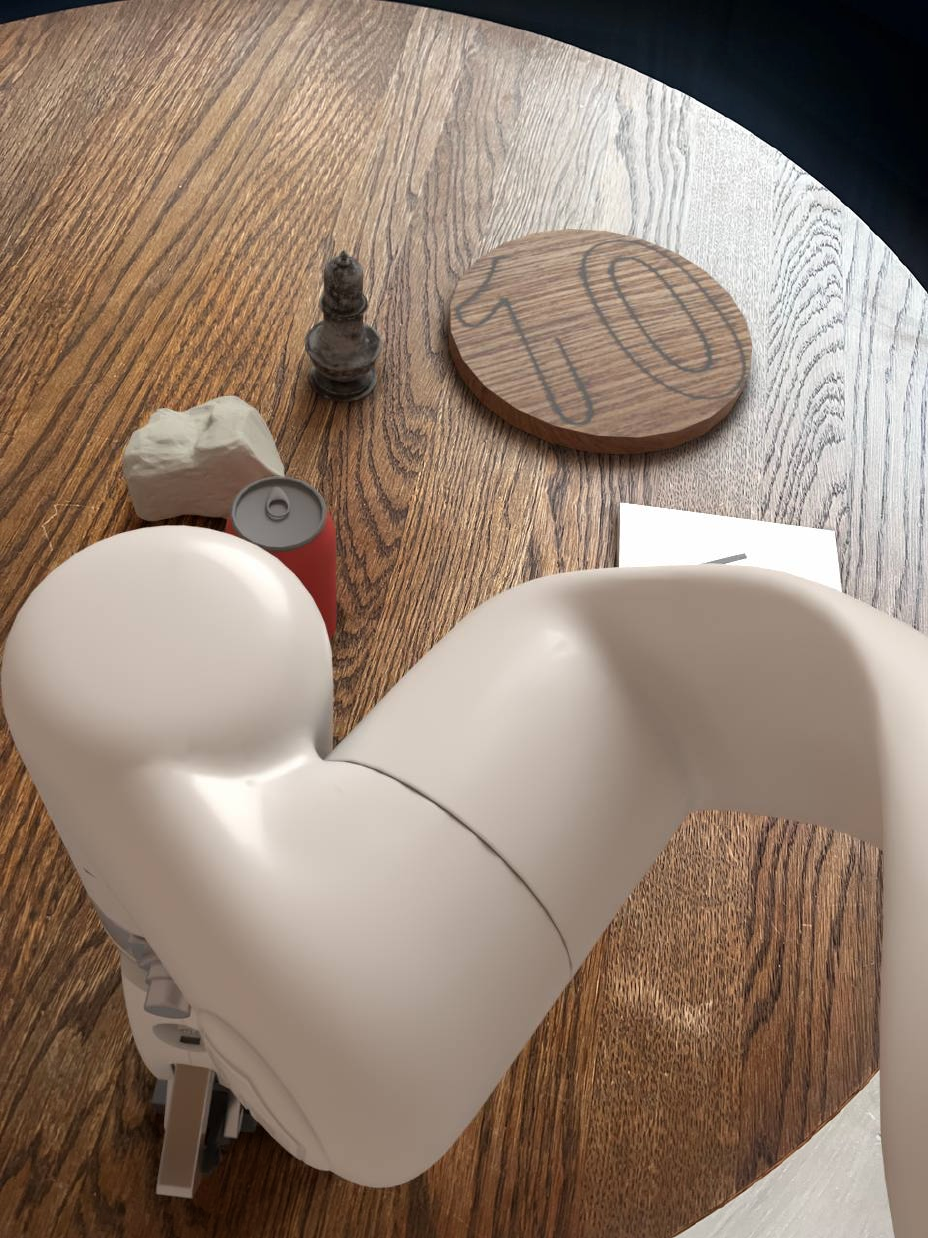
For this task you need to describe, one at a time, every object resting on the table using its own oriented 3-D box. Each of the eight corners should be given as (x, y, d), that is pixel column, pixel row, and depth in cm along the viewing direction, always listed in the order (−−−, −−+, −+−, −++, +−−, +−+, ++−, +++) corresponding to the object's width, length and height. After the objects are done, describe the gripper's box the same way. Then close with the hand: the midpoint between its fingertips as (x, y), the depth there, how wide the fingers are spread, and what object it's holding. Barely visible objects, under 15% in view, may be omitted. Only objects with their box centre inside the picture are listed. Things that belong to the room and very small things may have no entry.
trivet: (529, 489, 84) (532, 472, 82) (400, 279, 96) (401, 261, 95) (804, 409, 91) (812, 392, 90) (652, 224, 104) (657, 206, 102)
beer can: (331, 583, 77) (329, 464, 68) (342, 664, 74) (342, 551, 64) (233, 591, 76) (217, 472, 66) (239, 674, 73) (223, 560, 63)
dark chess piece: (290, 380, 88) (283, 252, 78) (337, 341, 91) (336, 213, 81) (349, 415, 87) (351, 289, 77) (395, 374, 90) (402, 248, 80)
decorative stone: (263, 397, 85) (283, 372, 75) (277, 518, 85) (299, 510, 76) (112, 407, 81) (112, 382, 72) (128, 533, 82) (131, 526, 72)
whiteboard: (858, 780, 72) (865, 772, 71) (612, 748, 72) (615, 740, 71) (830, 539, 84) (835, 529, 83) (617, 511, 84) (620, 501, 83)
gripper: (277, 1167, 30) (292, 1236, 44) (369, 633, 40) (358, 829, 54) (-5, 1132, 30) (100, 1213, 44) (158, 604, 40) (201, 808, 54)
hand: (242, 1001), depth 49 cm, fingers open, 9 cm apart
